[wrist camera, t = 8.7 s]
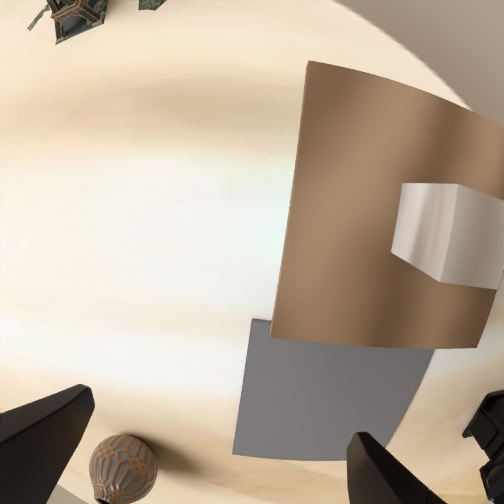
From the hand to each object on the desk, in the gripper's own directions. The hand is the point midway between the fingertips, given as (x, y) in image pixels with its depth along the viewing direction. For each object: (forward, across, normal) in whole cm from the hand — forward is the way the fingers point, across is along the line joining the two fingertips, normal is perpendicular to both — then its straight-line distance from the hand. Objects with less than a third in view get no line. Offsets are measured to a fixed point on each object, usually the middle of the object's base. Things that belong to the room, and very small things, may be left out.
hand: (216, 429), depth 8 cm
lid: (+7, -8, -7) cm, 13 cm away
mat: (+12, -8, +9) cm, 17 cm away
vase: (+12, +10, +20) cm, 25 cm away
